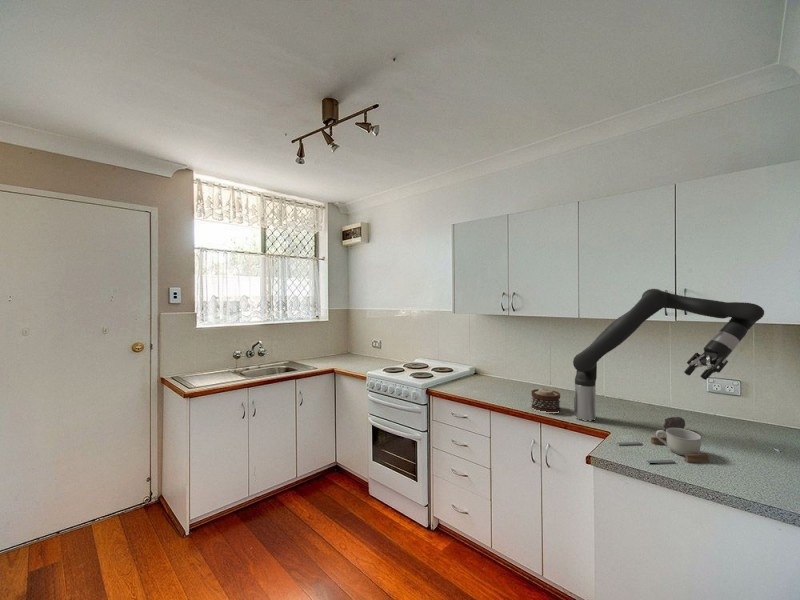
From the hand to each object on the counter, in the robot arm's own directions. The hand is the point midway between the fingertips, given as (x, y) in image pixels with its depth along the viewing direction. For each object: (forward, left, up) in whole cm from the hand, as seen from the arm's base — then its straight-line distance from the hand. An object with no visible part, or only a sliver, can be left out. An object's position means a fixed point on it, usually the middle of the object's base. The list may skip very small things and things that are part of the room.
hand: (694, 376), depth 141 cm
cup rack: (+3, -10, -29) cm, 31 cm away
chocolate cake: (-51, -37, -29) cm, 69 cm away
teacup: (+3, -10, -29) cm, 31 cm away
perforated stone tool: (-16, +7, -29) cm, 34 cm away
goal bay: (+3, -24, -29) cm, 38 cm away
